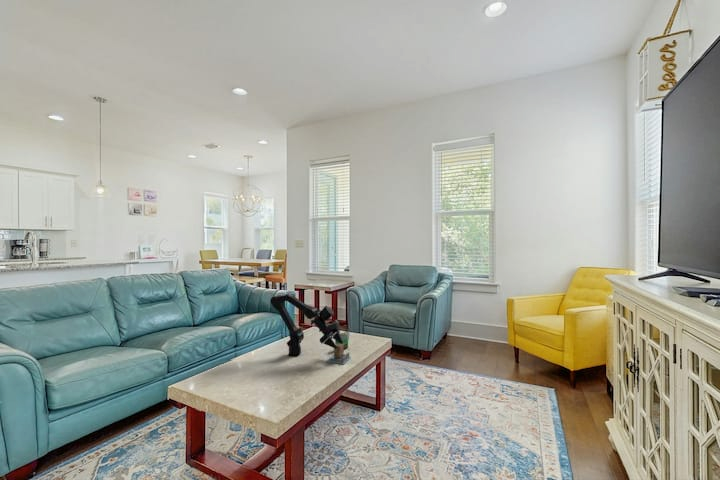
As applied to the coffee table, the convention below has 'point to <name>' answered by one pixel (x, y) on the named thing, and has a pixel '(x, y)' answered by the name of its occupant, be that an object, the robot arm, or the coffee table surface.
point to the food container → (344, 339)
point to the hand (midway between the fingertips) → (339, 345)
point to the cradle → (339, 361)
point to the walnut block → (338, 351)
